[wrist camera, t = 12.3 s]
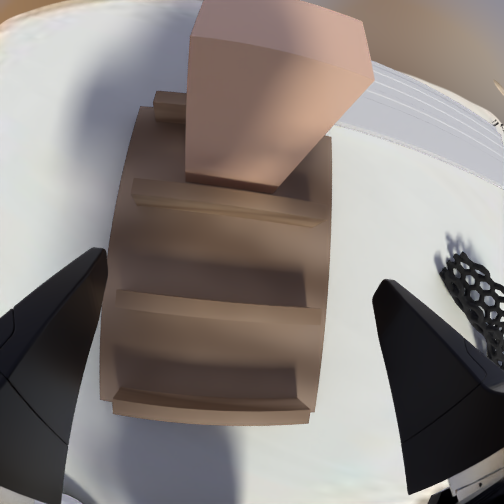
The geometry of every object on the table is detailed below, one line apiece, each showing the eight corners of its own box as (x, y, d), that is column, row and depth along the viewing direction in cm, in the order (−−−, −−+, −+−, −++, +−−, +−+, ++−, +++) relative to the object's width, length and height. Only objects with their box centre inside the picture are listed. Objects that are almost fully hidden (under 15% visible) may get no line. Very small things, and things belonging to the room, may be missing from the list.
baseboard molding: (305, 37, 26) (308, 124, 24) (314, 19, 23) (321, 106, 21) (489, 121, 32) (505, 194, 30) (501, 114, 29) (520, 189, 27)
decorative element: (427, 281, 24) (474, 278, 19) (451, 248, 26) (495, 239, 20) (488, 411, 25) (520, 421, 19) (506, 381, 26) (538, 387, 20)
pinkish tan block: (272, 193, 21) (374, 80, 8) (185, 181, 20) (189, 35, 7) (275, 149, 21) (362, 21, 9) (193, 136, 20) (210, -17, 8)
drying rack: (309, 407, 20) (329, 424, 17) (103, 395, 18) (89, 412, 14) (326, 142, 24) (345, 122, 20) (141, 113, 21) (136, 86, 17)
